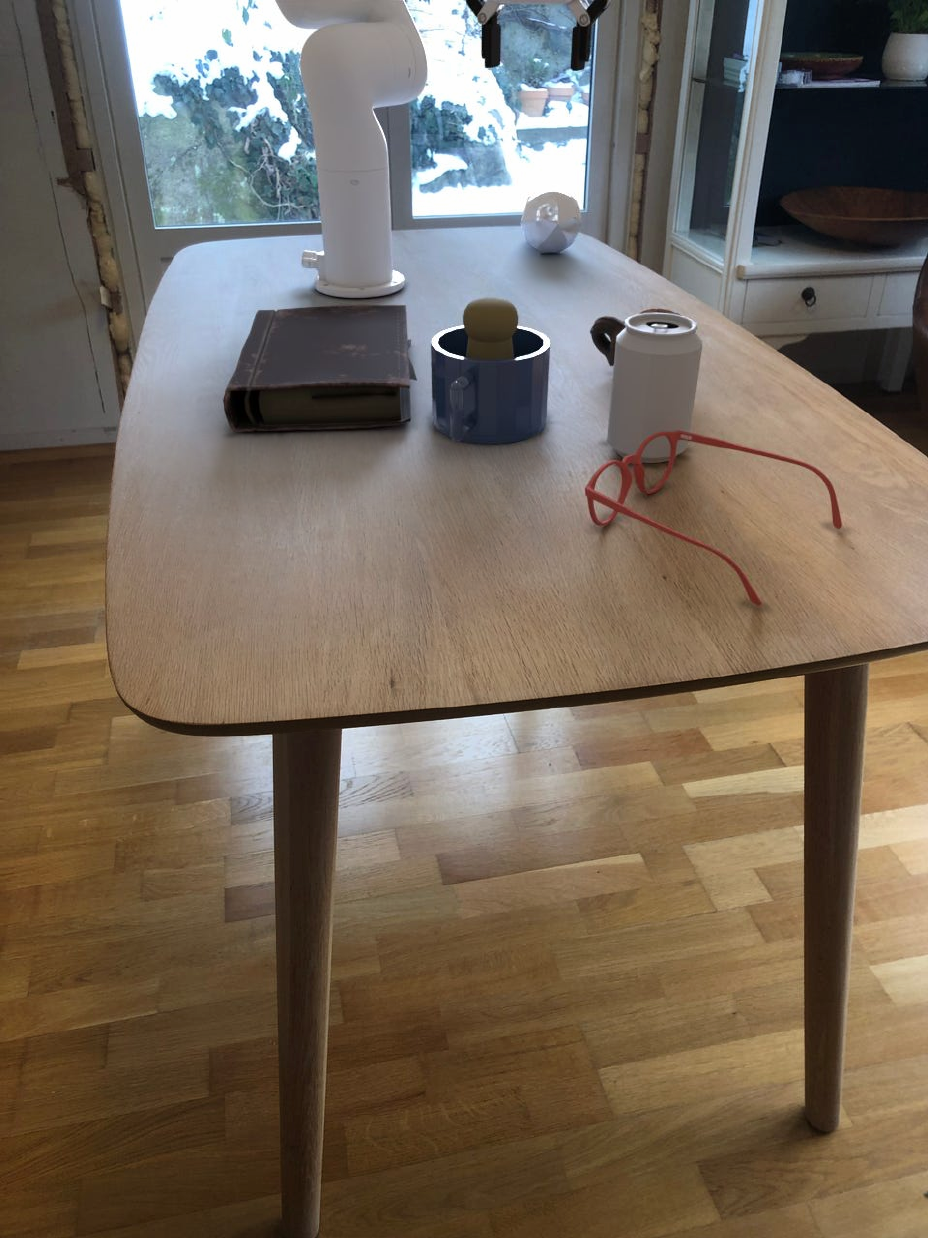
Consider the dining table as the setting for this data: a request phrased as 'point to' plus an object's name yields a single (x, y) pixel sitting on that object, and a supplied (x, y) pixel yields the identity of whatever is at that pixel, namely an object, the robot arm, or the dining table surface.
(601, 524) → the red eyeglasses
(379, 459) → the dining table surface
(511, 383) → the blue coffee cup
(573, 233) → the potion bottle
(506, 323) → the cork
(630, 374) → the can
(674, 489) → the dining table surface
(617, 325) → the pottery mug
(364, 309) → the diary
